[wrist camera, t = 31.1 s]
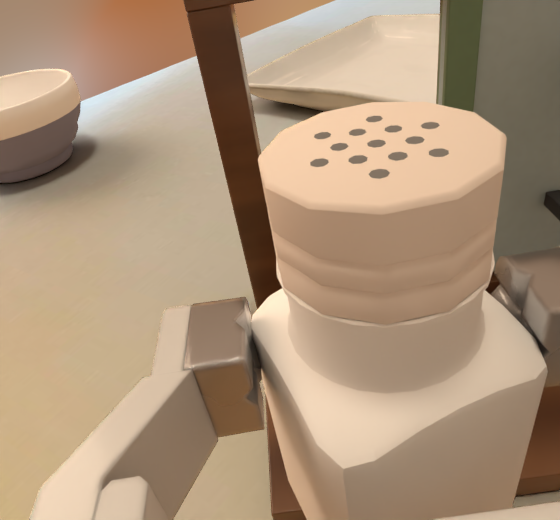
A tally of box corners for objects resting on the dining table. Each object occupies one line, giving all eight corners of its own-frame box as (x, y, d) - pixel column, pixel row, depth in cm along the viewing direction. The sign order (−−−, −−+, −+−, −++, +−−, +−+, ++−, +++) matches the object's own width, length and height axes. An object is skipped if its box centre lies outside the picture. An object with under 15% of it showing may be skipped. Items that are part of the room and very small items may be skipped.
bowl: (124, 153, 50) (96, 78, 46) (-22, 216, 44) (-71, 136, 39) (69, 126, 60) (43, 61, 55) (-57, 174, 53) (-99, 105, 49)
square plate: (371, 41, 70) (370, 11, 68) (583, 53, 54) (591, 14, 51) (236, 110, 56) (229, 75, 53) (470, 154, 39) (474, 107, 37)
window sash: (640, 319, 21) (790, -56, 13) (466, 345, 21) (506, -6, 13) (573, 248, 25) (654, -68, 17) (428, 271, 25) (441, -30, 17)
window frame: (794, 457, 18) (1356, -201, 7) (276, 530, 19) (111, 22, 8) (579, 240, 29) (680, -142, 19) (262, 290, 30) (186, -51, 19)
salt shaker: (359, 637, 10) (305, 278, 4) (282, 473, 13) (192, 139, 8) (515, 543, 11) (633, 149, 5) (409, 411, 14) (413, 72, 8)
